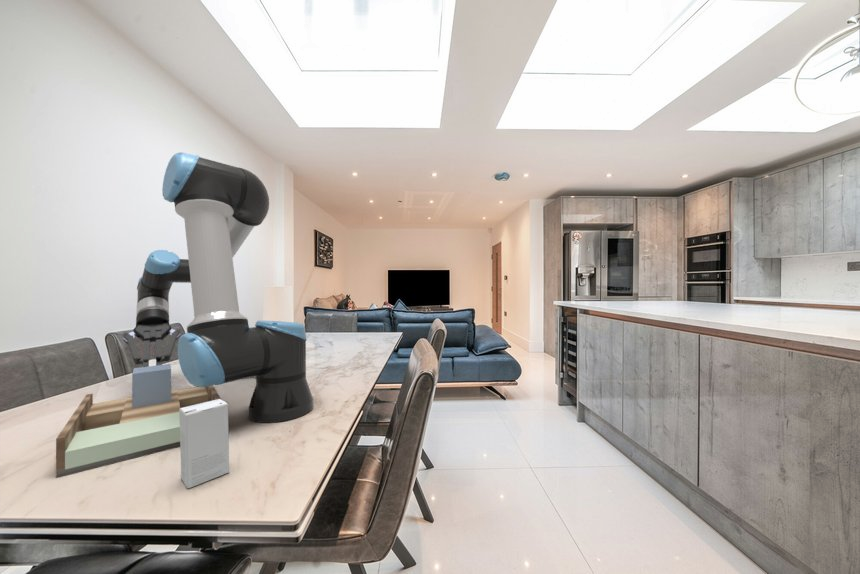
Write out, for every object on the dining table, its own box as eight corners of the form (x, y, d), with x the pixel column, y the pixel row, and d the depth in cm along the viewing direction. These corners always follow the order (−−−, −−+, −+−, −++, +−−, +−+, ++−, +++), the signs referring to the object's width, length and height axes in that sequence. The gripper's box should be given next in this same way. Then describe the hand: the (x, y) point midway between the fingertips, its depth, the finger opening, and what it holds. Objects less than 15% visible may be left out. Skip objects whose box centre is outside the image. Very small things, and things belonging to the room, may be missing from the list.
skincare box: (221, 464, 58) (220, 397, 58) (230, 473, 55) (230, 402, 55) (178, 480, 53) (178, 406, 53) (186, 491, 50) (185, 413, 50)
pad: (76, 447, 62) (76, 432, 62) (212, 417, 77) (212, 405, 77) (65, 469, 55) (65, 452, 55) (218, 431, 69) (218, 418, 69)
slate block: (134, 400, 80) (134, 368, 80) (170, 394, 84) (170, 363, 84) (132, 408, 75) (132, 373, 75) (171, 401, 79) (171, 368, 79)
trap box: (86, 421, 77) (86, 394, 77) (208, 399, 93) (208, 376, 93) (56, 477, 54) (56, 438, 54) (224, 435, 70) (224, 404, 70)
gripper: (179, 322, 104) (183, 385, 91) (124, 325, 95) (118, 396, 83) (180, 306, 100) (184, 370, 87) (122, 308, 91) (116, 379, 79)
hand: (152, 382), depth 85 cm, fingers closed
